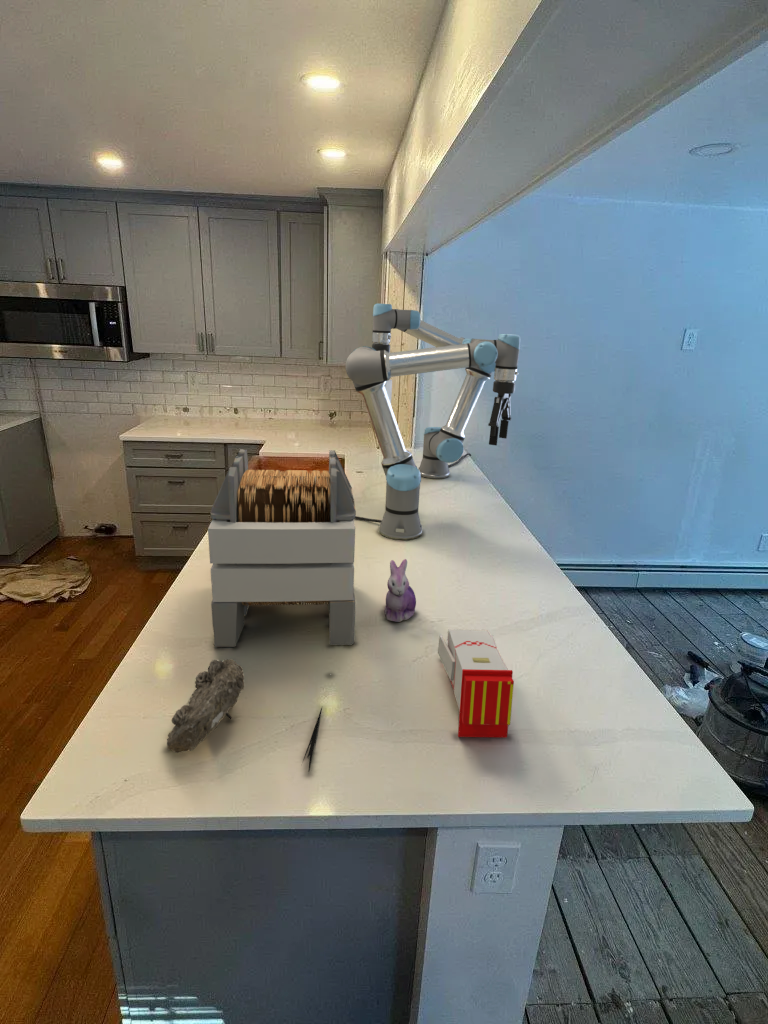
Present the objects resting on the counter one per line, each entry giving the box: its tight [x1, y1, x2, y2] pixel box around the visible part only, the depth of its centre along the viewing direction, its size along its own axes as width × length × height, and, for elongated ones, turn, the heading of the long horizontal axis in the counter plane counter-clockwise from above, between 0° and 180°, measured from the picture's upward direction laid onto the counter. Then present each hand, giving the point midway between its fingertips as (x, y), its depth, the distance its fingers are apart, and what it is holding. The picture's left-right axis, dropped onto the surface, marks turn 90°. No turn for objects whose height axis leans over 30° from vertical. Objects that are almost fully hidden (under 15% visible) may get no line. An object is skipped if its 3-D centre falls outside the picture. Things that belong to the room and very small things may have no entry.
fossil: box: [166, 658, 245, 754], centre depth 106 cm, size 22×10×15 cm
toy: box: [437, 628, 515, 738], centre depth 117 cm, size 12×13×30 cm
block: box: [385, 378, 393, 404], centre depth 240 cm, size 9×6×12 cm, turn 64°
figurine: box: [384, 558, 417, 623], centre depth 145 cm, size 9×10×15 cm
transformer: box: [207, 448, 357, 649], centre depth 139 cm, size 34×33×41 cm
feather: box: [301, 673, 332, 771], centre depth 108 cm, size 2×28×2 cm
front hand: (497, 441), depth 203 cm, fingers open, 13 cm apart
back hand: (378, 400), depth 241 cm, fingers closed on block, 6 cm apart
